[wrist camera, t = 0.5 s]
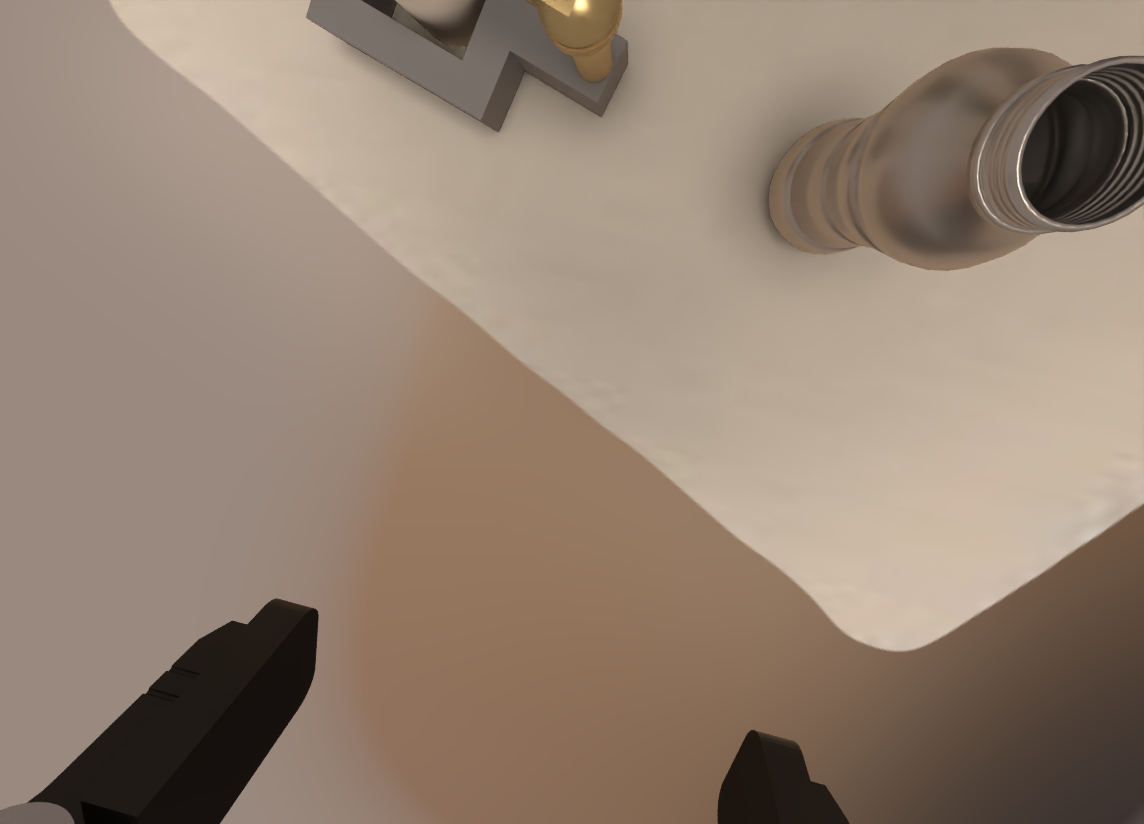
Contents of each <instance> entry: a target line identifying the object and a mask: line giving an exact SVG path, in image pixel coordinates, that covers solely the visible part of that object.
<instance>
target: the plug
mask: <svg viewBox="0 0 1144 824" xmlns="http://www.w3.org/2000/svg"><path fill="white" fill-rule="evenodd" d="M395 1H396V2H397V3H398V4H399V5H401V6H402V7H403V8H404V9H405V10H406V11H407V12H408V13H409V14H410V15H411V16H412V17H414V18H415V19H416V20H417V21H418V22H419V23H420V24H421V25H422V26H423V27H424V28H426V29H427V30H428V31H429V32H430V33H431V34H432V35H433V36H434V37H435V38H437V39H438V40H440V41H441V42H443V43H445V44H448V45H451V46H468V44H469V41H470V39H471V36H472V34H473V31H474V29H475V26H476V24H477V21H478V18H479V16H480V13H481V11H482V8H483V6H484V3H485V1H486V0H395Z"/></svg>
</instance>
